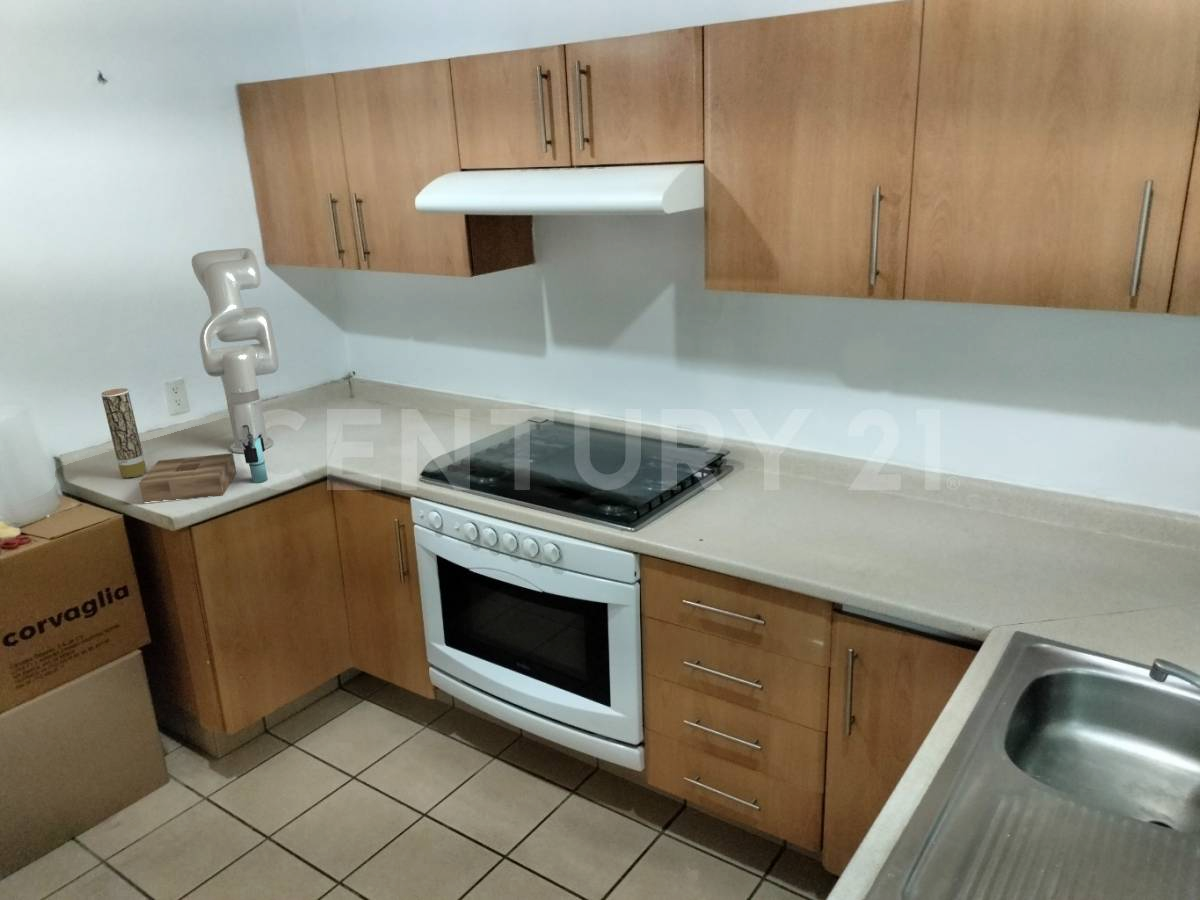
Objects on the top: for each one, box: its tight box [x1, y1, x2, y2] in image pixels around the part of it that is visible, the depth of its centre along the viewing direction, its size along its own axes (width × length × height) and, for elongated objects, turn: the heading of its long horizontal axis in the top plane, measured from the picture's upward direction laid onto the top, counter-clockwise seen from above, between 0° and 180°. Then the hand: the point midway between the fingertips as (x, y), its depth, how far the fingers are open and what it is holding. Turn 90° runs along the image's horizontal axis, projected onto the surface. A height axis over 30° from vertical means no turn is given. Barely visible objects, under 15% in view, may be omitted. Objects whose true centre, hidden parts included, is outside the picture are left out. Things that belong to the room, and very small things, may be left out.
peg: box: [248, 437, 269, 484], centre depth 249 cm, size 4×4×12 cm
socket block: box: [138, 452, 238, 503], centre depth 247 cm, size 18×20×6 cm
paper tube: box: [101, 388, 147, 479], centre depth 257 cm, size 7×7×25 cm
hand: (255, 457), depth 248 cm, fingers open, 9 cm apart
